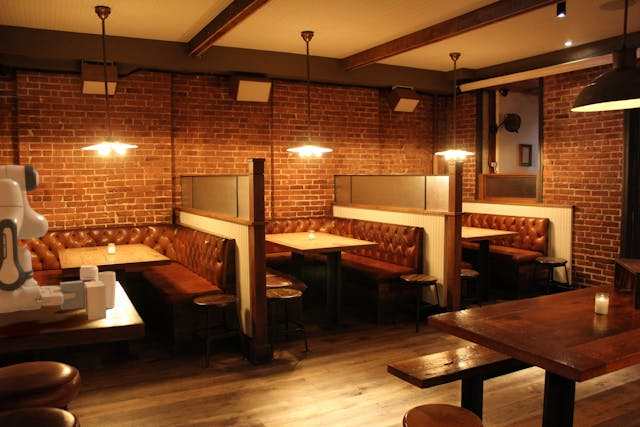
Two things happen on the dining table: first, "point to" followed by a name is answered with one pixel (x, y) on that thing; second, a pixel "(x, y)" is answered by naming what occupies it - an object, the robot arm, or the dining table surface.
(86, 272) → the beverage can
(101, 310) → the socket block
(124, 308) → the dining table surface
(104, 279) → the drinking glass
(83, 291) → the charger
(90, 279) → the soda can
